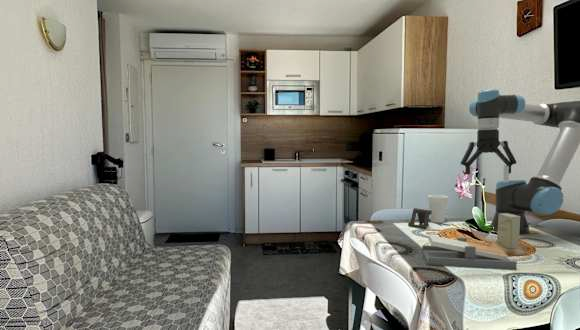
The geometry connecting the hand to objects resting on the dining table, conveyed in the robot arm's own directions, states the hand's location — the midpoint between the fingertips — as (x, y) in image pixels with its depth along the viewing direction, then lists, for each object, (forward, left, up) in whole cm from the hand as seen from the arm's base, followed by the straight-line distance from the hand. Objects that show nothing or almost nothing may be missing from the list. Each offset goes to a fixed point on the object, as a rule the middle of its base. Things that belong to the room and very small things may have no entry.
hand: (487, 182), depth 149 cm
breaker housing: (+14, +24, -25) cm, 37 cm away
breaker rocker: (+14, +24, -20) cm, 34 cm away
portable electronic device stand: (+23, -25, -25) cm, 42 cm away
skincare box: (-5, +10, -23) cm, 26 cm away
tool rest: (-4, +10, -25) cm, 27 cm away
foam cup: (+13, -38, -25) cm, 47 cm away
